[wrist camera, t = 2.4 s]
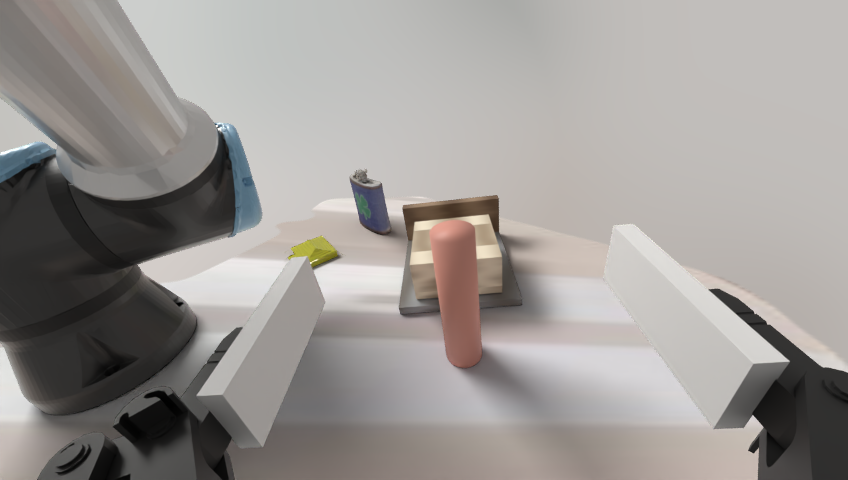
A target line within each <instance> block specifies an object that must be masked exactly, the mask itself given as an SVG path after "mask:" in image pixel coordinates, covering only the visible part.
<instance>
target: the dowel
mask: <svg viewBox="0 0 848 480" xmlns="http://www.w3.org/2000/svg"><path fill="white" fill-rule="evenodd" d="M429 235H430V242H431V249H432V256H433V263H434V270H435V277H436V284H437V291H438V298H439V305H440V312H441V319H442V326H443V333H444V340H445V347H446V354H447V358H448V360H449V361H450V362H451V363H452V364H453V365H455V366H457V367H460V368H468V367H472V366H474V365H476V364H477V363H478V362H479V361H480V359H481V357H482V344H481V326H480V308H479V290H478V272H477V254H476V236H475V227H474V226H473V225H472V224H471V223H469V222H466V221H462V220H449V221H444V222H441V223H439V224H437V225H435V226H433V227H432V228H431V230H430V232H429Z"/></svg>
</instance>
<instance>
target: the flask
mask: <svg viewBox="0 0 848 480" xmlns="http://www.w3.org/2000/svg"><path fill="white" fill-rule="evenodd" d="M356 173H357V170H355V174H353V175H351V176H350V182H351V185H352V190H353V193H354V198H355V202H356V206H357V209H358V214H359V220H360V223H361V224H362V225H363V226H364V227H365V228H368V229H369V230H371V231H373V232H375V233H377V234H381V235H385V234H388V233H389V232H391V226H390V221H389V217H388V213H387V208H386V204H385V198H384V193H383V188H382V183H381V182H378V181H374V180H371V179H369V178H367V175H366V173H367V170H366V169H365V170H364V171H362V170H358V173H357V174H356ZM386 232H388V233H386Z"/></svg>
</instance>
